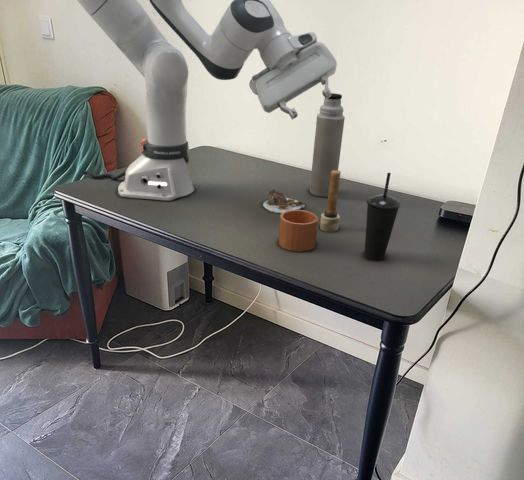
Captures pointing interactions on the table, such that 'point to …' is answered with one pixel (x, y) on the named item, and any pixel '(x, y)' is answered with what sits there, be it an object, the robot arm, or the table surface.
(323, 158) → the thermos bottle
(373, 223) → the drinking cup
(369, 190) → the table surface
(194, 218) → the table surface
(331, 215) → the brush
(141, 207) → the table surface
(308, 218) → the tumbler
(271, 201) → the frog figurine
